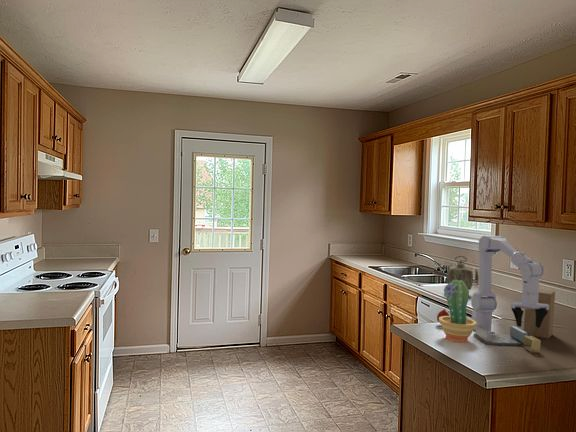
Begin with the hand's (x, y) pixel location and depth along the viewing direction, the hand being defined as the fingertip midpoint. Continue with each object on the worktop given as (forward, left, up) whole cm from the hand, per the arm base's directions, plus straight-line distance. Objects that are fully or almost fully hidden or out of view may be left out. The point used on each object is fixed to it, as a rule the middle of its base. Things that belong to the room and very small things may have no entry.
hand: (528, 326), depth 181 cm
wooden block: (-24, +18, -10) cm, 31 cm away
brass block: (-1, +2, -10) cm, 10 cm away
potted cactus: (-12, -24, -10) cm, 28 cm away
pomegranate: (-33, -22, -10) cm, 40 cm away
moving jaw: (-12, +3, -8) cm, 15 cm away
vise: (-12, -5, -10) cm, 16 cm away
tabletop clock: (-109, +16, -10) cm, 110 cm away
